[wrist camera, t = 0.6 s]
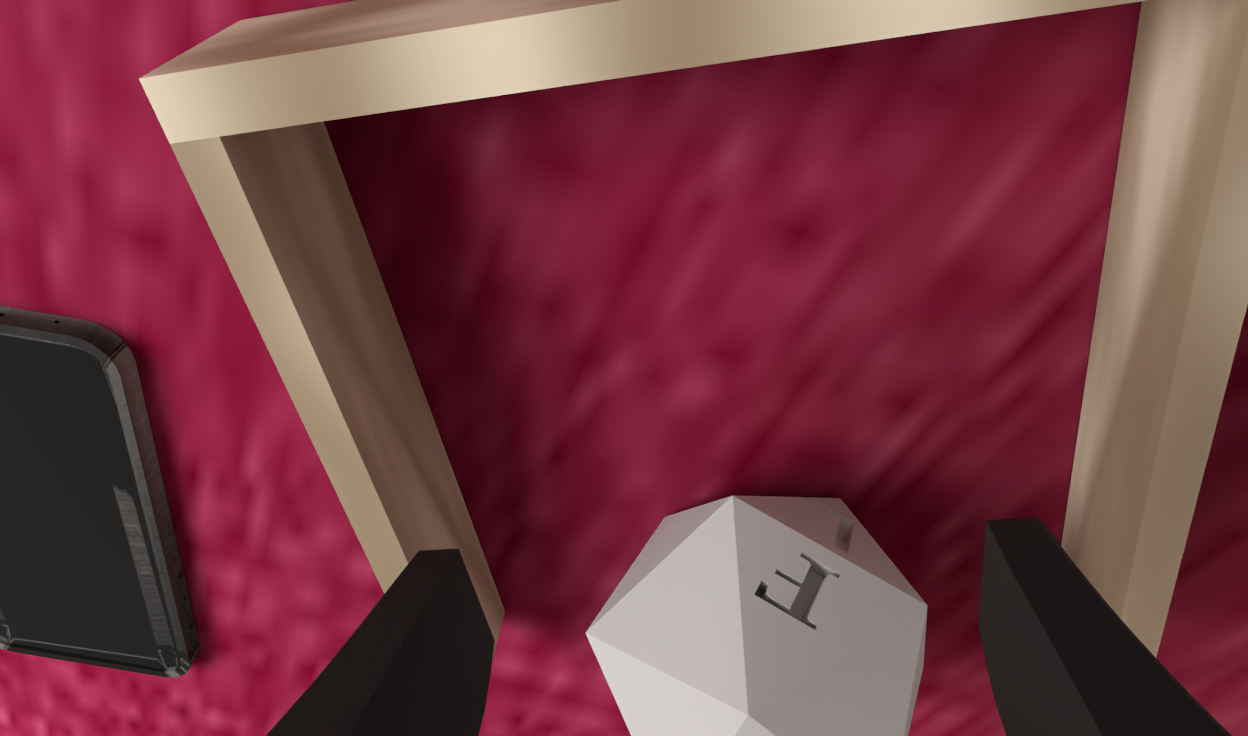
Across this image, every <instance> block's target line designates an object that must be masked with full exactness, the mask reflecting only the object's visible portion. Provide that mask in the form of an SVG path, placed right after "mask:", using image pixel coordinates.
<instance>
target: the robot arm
mask: <svg viewBox="0 0 1248 736" xmlns="http://www.w3.org/2000/svg"><path fill="white" fill-rule="evenodd" d="M978 626H979V630H980V635H981V640H982V645H983V649H984V654H985V659H986V663H987V668H988V672H989V677H990V681H991V686H992V690H993V694H994V699H995V702H996V705H997V708H998V711H999V714H1000V717H1001V720H1002V723H1003V726H1004V729H1005V732H1006V735H1007V736H1232V735H1231V734H1229V733H1228V732H1227V731H1226V730H1225V729H1224V728H1223V727H1222V726H1221V725H1220V724H1219V723H1218V722H1217V721H1216V720H1215V719H1214V718H1213V717H1212V716H1211V715H1210V714H1209V713H1208V712H1207V711H1206V710H1205V709H1204V708H1203V707H1202V706H1201V705H1200V704H1199V703H1198V702H1197V701H1196V700H1195V699H1194V698H1193V697H1192V696H1191V695H1190V694H1189V693H1188V692H1187V691H1186V690H1185V689H1184V687H1183V686H1182V685H1181V684H1180V683H1179V682H1178V681H1177V680H1176V679H1175V678H1174V677H1173V676H1172V675H1171V674H1170V673H1169V672H1168V671H1167V670H1166V669H1165V667H1164V666H1163V665H1162V664H1161V663H1160V662H1159V661H1158V660H1157V659H1156V658H1155V656H1154V655H1153V654H1152V653H1151V652H1150V651H1149V650H1148V649H1147V648H1146V647H1145V645H1144V644H1143V643H1142V642H1141V641H1140V640H1139V639H1138V638H1137V637H1136V635H1135V634H1134V633H1133V632H1132V631H1131V630H1130V629H1129V628H1128V627H1127V626H1126V624H1125V623H1124V622H1123V621H1122V620H1121V619H1120V618H1119V616H1118V615H1117V614H1116V613H1115V612H1114V611H1113V609H1112V608H1111V607H1110V606H1109V605H1108V604H1107V602H1106V601H1105V600H1104V599H1103V598H1102V596H1101V595H1100V594H1099V593H1098V592H1097V590H1096V589H1095V588H1094V587H1093V586H1092V584H1091V583H1090V582H1089V581H1088V579H1087V578H1086V577H1085V576H1084V575H1083V573H1082V572H1081V571H1080V570H1079V568H1078V567H1077V566H1076V565H1075V563H1074V562H1073V561H1072V559H1071V558H1070V557H1069V556H1068V554H1067V553H1066V552H1065V551H1064V549H1063V548H1062V547H1061V545H1060V544H1059V543H1058V541H1057V540H1056V539H1055V537H1054V536H1053V535H1052V533H1051V532H1050V531H1049V529H1048V528H1047V527H1046V525H1045V524H1044V523H1043V522H1041V521H1040V520H1039V519H1037V518H1024V519H1005V520H986V531H985V544H984V557H983V570H982V582H981V595H980V608H979V621H978ZM494 643H495V640H494V637H493V635H492V632H491V630H490V627H489V624H488V622H487V619H486V617H485V614H484V612H483V609H482V607H481V604H480V602H479V599H478V596H477V594H476V591H475V589H474V586H473V584H472V581H471V579H470V576H469V574H468V571H467V568H466V566H465V563H464V561H463V558H462V556H461V553H460V551H459V548H458V549H439V550H421V551H418V552H417V554H416V555H415V556H414V557H413V558H412V560H411V561H410V562H409V563H408V565H407V566H406V567H405V568H404V570H403V571H402V572H401V573H400V575H399V576H398V577H397V578H396V580H395V581H394V582H393V584H392V585H391V586H390V587H389V589H388V590H387V591H386V593H385V594H384V595H383V596H382V598H381V599H380V600H379V601H378V603H377V604H376V605H375V607H374V608H373V609H372V610H371V612H370V613H369V614H368V616H367V617H366V618H365V619H364V621H363V622H362V623H361V624H360V626H359V627H358V628H357V629H356V631H355V632H354V633H353V634H352V636H351V637H350V638H349V639H348V641H347V642H346V643H345V644H344V645H343V647H342V648H341V649H340V650H339V652H338V653H337V654H336V655H335V657H334V658H333V659H332V660H331V661H330V663H329V664H328V665H327V666H326V668H325V669H324V670H323V671H322V672H321V674H320V675H319V676H318V677H317V678H316V680H315V681H314V682H313V683H312V684H311V685H310V687H309V688H308V689H307V690H306V691H305V692H304V693H303V695H302V696H301V697H300V698H299V699H298V700H297V701H296V702H295V704H294V705H293V706H292V707H291V708H290V709H289V710H288V711H287V713H286V714H285V715H284V716H283V717H282V718H281V719H280V721H279V722H278V723H277V724H276V725H275V726H274V727H273V728H272V730H271V731H270V732H269V733H268V734H267V735H266V736H478V734H479V730H480V726H481V722H482V718H483V714H484V711H485V705H486V699H487V692H488V686H489V680H490V673H491V665H492V658H493V650H494Z"/></svg>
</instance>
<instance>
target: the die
mask: <svg viewBox="0 0 1248 736" xmlns="http://www.w3.org/2000/svg"><path fill="white" fill-rule="evenodd" d="M926 620H927V604H926V603H925V602H924V601H923V599H922V598H921V597H920V596H919V594H918V593H917V592H916V591H915V589H914V588H913V587H912V586H911V585H910V583H909V582H908V581H907V580H906V578H905V577H904V576H903V575H902V573H901V572H900V571H899V570H898V569H897V567H896V566H895V565H894V564H893V562H892V561H891V560H890V559H889V557H888V556H887V555H886V554H885V552H884V551H883V550H882V549H881V548H880V546H879V545H878V544H877V543H876V541H875V540H874V539H873V538H872V536H871V535H870V534H869V533H868V532H867V530H866V529H865V528H864V527H863V525H862V524H861V523H860V522H859V520H858V519H857V518H856V517H855V516H854V514H853V513H852V512H851V511H850V509H849V508H848V507H847V506H846V504H845V503H844V502H843V501H842V500H841V498H817V497H807V498H803V497H775V496H733V495H732V496H729V497H726V498H723V499H720V500H717V501H713V502H710V503H707V504H704V505H701V506H697V507H694V508H691V509H688V510H685V511H682V512H678V513H675V514H672V515H669V516H666V517H664V519H663V520H662V522H661V523H660V525H659V526H658V528H657V529H656V531H655V532H654V533H653V535H652V536H651V538H650V539H649V541H648V542H647V544H646V545H645V547H644V548H643V549H642V551H641V552H640V554H639V555H638V557H637V558H636V560H635V561H634V563H633V564H632V566H631V567H630V568H629V570H628V571H627V573H626V574H625V576H624V577H623V579H622V580H621V582H620V583H619V584H618V586H617V587H616V589H615V590H614V592H613V593H612V595H611V596H610V598H609V599H608V601H607V602H606V603H605V605H604V606H603V608H602V609H601V611H600V612H599V614H598V615H597V617H596V618H595V619H594V621H593V622H592V624H591V625H590V627H589V628H588V630H587V631H586V635H587V637H588V640H589V642H590V644H591V646H592V649H593V651H594V653H595V655H596V658H597V660H598V662H599V664H600V667H601V669H602V671H603V673H604V676H605V678H606V680H607V682H608V685H609V687H610V689H611V691H612V694H613V696H614V698H615V700H616V703H617V705H618V707H619V709H620V711H621V714H622V716H623V718H624V720H625V723H626V725H627V727H628V729H629V732H630V734H631V736H908V732H909V728H910V723H911V719H912V715H913V710H914V706H915V701H916V697H917V693H918V688H919V684H920V680H921V675H922V671H923V666H924V651H925V635H926Z"/></svg>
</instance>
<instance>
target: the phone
mask: <svg viewBox="0 0 1248 736" xmlns="http://www.w3.org/2000/svg"><path fill="white" fill-rule="evenodd" d="M0 313H4V314H5V315H3V316H2V317H1V316H0V648H1V649H4V650H8V651H12V652H17V653H23V654H29V655H35V656H41V657H47V658H53V659H59V660H65V661H71V662H77V663H83V664H89V665H95V666H101V667H107V668H113V669H119V670H125V671H131V672H138V673H144V674H150V675H156V676H162V677H178V676H181V675H183V674H185V673H187V671H188V670H189V668H190V667H191V665H192V663H193V661H194V660H195V658H196V656H197V654H198V653H199V651H200V644H199V640H198V635H197V631H196V626H195V622H194V618H193V613H192V609H191V604H190V600H189V595H188V591H187V590H188V589H187V585H186V580H185V576H184V573H183V569H182V564H181V560H180V555H179V551H178V546H177V542H176V538H175V533H174V529H173V524H172V520H171V515H170V511H169V507H168V502H167V498H166V493H165V489H164V484H163V480H162V475H161V471H160V467H159V462H158V458H157V453H156V449H155V444H154V440H153V435H152V431H151V427H150V422H149V418H148V413H147V409H146V404H145V400H144V395H143V391H142V387H141V382H140V378H139V373H138V369H137V364H136V361H135V358H134V356H133V353H132V351H131V350H130V348H129V347H128V346H127V344H126V343H125V342H124V341H123V340H122V339H121V338H120V337H119V336H118V335H116V334H115V333H114V332H113V331H111V330H109V329H108V328H106V327H104V326H102V325H100V324H98V323H94V322H91V321H87V320H83V319H77V318H71V317H65V316H59V315H54V314H48V313H42V312H36V311H30V310H24V309H18V308H12V307H6V306H0ZM56 320H57V321H60V322H59V323H54V322H55V321H56Z"/></svg>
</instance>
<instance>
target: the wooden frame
mask: <svg viewBox="0 0 1248 736" xmlns="http://www.w3.org/2000/svg"><path fill="white" fill-rule="evenodd" d="M1140 1H1142V3H1141V10H1140V17H1139V24H1138V31H1137V37H1136V44H1135V51H1134V58H1133V64H1132V71H1131V78H1130V85H1129V91H1128V98H1127V105H1126V112H1125V118H1124V125H1123V132H1122V139H1121V145H1120V152H1119V159H1118V166H1117V172H1116V179H1115V186H1114V193H1113V199H1112V206H1111V213H1110V220H1109V226H1108V233H1107V240H1106V247H1105V253H1104V260H1103V267H1102V274H1101V280H1100V287H1099V294H1098V301H1097V307H1096V314H1095V321H1094V328H1093V334H1092V341H1091V348H1090V355H1089V362H1088V368H1087V375H1086V382H1085V389H1084V395H1083V402H1082V409H1081V416H1080V422H1079V429H1078V436H1077V443H1076V449H1075V456H1074V463H1073V470H1072V476H1071V483H1070V490H1069V497H1068V503H1067V510H1066V517H1065V524H1064V530H1063V537H1062V544H1061V547H1062V548H1063V549H1064V551H1065V552H1066V553H1067V554H1068V556H1069V557H1070V558H1071V559H1072V561H1073V562H1074V563H1075V565H1076V566H1077V567H1078V568H1079V570H1080V571H1081V572H1082V573H1083V575H1084V576H1085V577H1086V578H1087V579H1088V581H1089V582H1090V583H1091V584H1092V586H1093V587H1094V588H1095V589H1096V590H1097V592H1098V593H1099V594H1100V595H1101V596H1102V598H1103V599H1104V600H1105V601H1106V602H1107V604H1108V605H1109V606H1110V607H1111V608H1112V609H1113V611H1114V612H1115V613H1116V614H1117V615H1118V616H1119V618H1120V619H1121V620H1122V621H1123V622H1124V623H1125V624H1126V626H1127V627H1128V628H1129V629H1130V630H1131V631H1132V632H1133V633H1134V634H1135V635H1136V637H1137V638H1138V639H1139V640H1140V641H1141V642H1142V643H1143V644H1144V645H1145V647H1146V648H1147V649H1148V650H1149V651H1150V652H1151V653H1152V654H1153V655H1154V656H1155V658H1156V657H1157V653H1158V649H1159V645H1160V641H1161V637H1162V634H1163V630H1164V626H1165V622H1166V618H1167V614H1168V610H1169V606H1170V603H1171V599H1172V595H1173V591H1174V587H1175V583H1176V579H1177V576H1178V572H1179V568H1180V564H1181V560H1182V556H1183V552H1184V549H1185V545H1186V541H1187V537H1188V533H1189V529H1190V525H1191V521H1192V518H1193V514H1194V510H1195V506H1196V502H1197V498H1198V494H1199V491H1200V487H1201V483H1202V479H1203V475H1204V471H1205V467H1206V464H1207V460H1208V456H1209V452H1210V448H1211V444H1212V440H1213V436H1214V433H1215V429H1216V425H1217V421H1218V417H1219V413H1220V409H1221V406H1222V402H1223V398H1224V394H1225V390H1226V386H1227V382H1228V379H1229V375H1230V371H1231V367H1232V363H1233V359H1234V355H1235V352H1236V348H1237V344H1238V340H1239V336H1240V332H1241V328H1242V324H1243V321H1244V317H1245V313H1246V309H1247V305H1248V0H356V1H350V2H344V3H338V4H332V5H327V6H321V7H315V8H309V9H303V10H297V11H291V12H286V13H280V14H274V15H268V16H262V17H256V18H251V19H245V20H240V21H238V22H236V23H235V24H233V25H231V26H229V27H228V28H226V29H224V30H222V31H221V32H219V33H217V34H215V35H214V36H212V37H210V38H209V39H207V40H205V41H203V42H202V43H200V44H198V45H196V46H195V47H193V48H191V49H189V50H188V51H186V52H184V53H182V54H181V55H179V56H177V57H175V58H174V59H172V60H170V61H169V62H167V63H165V64H163V65H162V66H160V67H158V68H156V69H155V70H153V71H151V72H149V73H148V74H146V75H144V76H142V77H141V78H139V80H140V82H141V84H142V86H143V88H144V91H145V93H146V95H147V97H148V99H149V101H150V103H151V105H152V107H153V109H154V111H155V114H156V116H157V118H158V120H159V122H160V124H161V126H162V128H163V130H164V132H165V135H166V137H167V139H168V141H169V143H170V145H171V147H172V149H173V151H174V153H175V156H176V158H177V160H178V162H179V164H180V166H181V168H182V170H183V172H184V174H185V176H186V179H187V181H188V183H189V185H190V187H191V189H192V191H193V193H194V195H195V197H196V200H197V202H198V204H199V206H200V208H201V210H202V212H203V214H204V216H205V218H206V220H207V223H208V225H209V227H210V229H211V231H212V233H213V235H214V237H215V239H216V241H217V244H218V246H219V248H220V250H221V252H222V254H223V256H224V258H225V260H226V262H227V265H228V267H229V269H230V271H231V273H232V275H233V277H234V279H235V281H236V283H237V285H238V288H239V290H240V292H241V294H242V296H243V298H244V300H245V302H246V304H247V306H248V309H249V311H250V313H251V315H252V317H253V319H254V321H255V323H256V325H257V327H258V330H259V332H260V334H261V336H262V338H263V340H264V342H265V344H266V346H267V348H268V350H269V353H270V355H271V357H272V359H273V361H274V363H275V365H276V367H277V369H278V371H279V374H280V376H281V378H282V380H283V382H284V384H285V386H286V388H287V390H288V392H289V395H290V397H291V399H292V401H293V403H294V405H295V407H296V409H297V411H298V413H299V415H300V418H301V420H302V422H303V424H304V426H305V428H306V430H307V432H308V434H309V436H310V439H311V441H312V443H313V445H314V447H315V449H316V451H317V453H318V455H319V457H320V459H321V462H322V464H323V466H324V468H325V470H326V472H327V474H328V476H329V478H330V480H331V483H332V485H333V487H334V489H335V491H336V493H337V495H338V497H339V499H340V501H341V504H342V506H343V508H344V510H345V512H346V514H347V516H348V518H349V520H350V522H351V524H352V527H353V529H354V531H355V533H356V535H357V537H358V539H359V541H360V543H361V545H362V548H363V550H364V552H365V554H366V556H367V558H368V560H369V562H370V564H371V566H372V569H373V571H374V573H375V575H376V577H377V579H378V581H379V583H380V585H381V587H382V589H383V592H384V594H385V593H386V591H387V590H388V589H389V587H390V586H391V585H392V584H393V582H394V581H395V580H396V578H397V577H398V576H399V575H400V573H401V572H402V571H403V570H404V568H405V567H406V566H407V565H408V563H409V562H410V561H411V560H412V558H413V557H414V556H415V555H416V554H417V552H418V551H421V550H439V549H458V548H459V551H460V553H461V556H462V558H463V561H464V563H465V566H466V568H467V571H468V574H469V576H470V579H471V581H472V584H473V586H474V589H475V591H476V594H477V596H478V599H479V602H480V604H481V607H482V609H483V612H484V614H485V617H486V619H487V622H488V624H489V627H490V630H491V632H492V635H493V637H494V640H495V643H494V650H493V656H494V652H495V648H496V645H497V641H498V637H499V633H500V629H501V625H502V621H503V617H504V613H505V610H504V607H503V604H502V602H501V599H500V596H499V593H498V591H497V588H496V585H495V583H494V580H493V577H492V575H491V572H490V569H489V566H488V564H487V561H486V558H485V556H484V553H483V550H482V548H481V545H480V542H479V540H478V537H477V534H476V531H475V529H474V526H473V523H472V521H471V518H470V515H469V513H468V510H467V507H466V504H465V502H464V499H463V496H462V494H461V491H460V488H459V486H458V483H457V480H456V477H455V475H454V472H453V469H452V467H451V464H450V461H449V459H448V456H447V453H446V450H445V448H444V445H443V442H442V440H441V437H440V434H439V432H438V429H437V426H436V423H435V421H434V418H433V415H432V413H431V410H430V407H429V405H428V402H427V399H426V396H425V394H424V391H423V388H422V386H421V383H420V380H419V378H418V375H417V372H416V369H415V367H414V364H413V361H412V359H411V356H410V353H409V351H408V348H407V345H406V342H405V340H404V337H403V334H402V332H401V329H400V326H399V324H398V321H397V318H396V315H395V313H394V310H393V307H392V305H391V302H390V299H389V297H388V294H387V291H386V289H385V286H384V283H383V280H382V278H381V275H380V272H379V270H378V267H377V264H376V262H375V259H374V256H373V253H372V251H371V248H370V245H369V243H368V240H367V237H366V235H365V232H364V229H363V226H362V224H361V221H360V218H359V216H358V213H357V210H356V208H355V205H354V202H353V199H352V197H351V194H350V191H349V189H348V186H347V183H346V181H345V178H344V175H343V172H342V170H341V167H340V164H339V162H338V159H337V156H336V154H335V151H334V148H333V145H332V143H331V140H330V137H329V135H328V132H327V129H326V127H325V124H324V121H329V120H336V119H343V118H350V117H357V116H363V115H370V114H377V113H384V112H391V111H398V110H404V109H411V108H418V107H425V106H432V105H438V104H445V103H452V102H459V101H466V100H473V99H479V98H486V97H493V96H500V95H507V94H513V93H520V92H527V91H534V90H541V89H547V88H554V87H561V86H568V85H575V84H582V83H588V82H595V81H602V80H609V79H616V78H622V77H629V76H636V75H643V74H650V73H656V72H663V71H670V70H677V69H684V68H691V67H697V66H704V65H711V64H718V63H725V62H731V61H738V60H745V59H752V58H759V57H766V56H772V55H779V54H786V53H793V52H800V51H806V50H813V49H820V48H827V47H834V46H840V45H847V44H854V43H861V42H868V41H875V40H881V39H888V38H895V37H902V36H909V35H915V34H922V33H929V32H936V31H943V30H950V29H956V28H963V27H970V26H977V25H984V24H990V23H997V22H1004V21H1011V20H1018V19H1024V18H1031V17H1038V16H1045V15H1052V14H1059V13H1065V12H1072V11H1079V10H1086V9H1093V8H1099V7H1106V6H1113V5H1120V4H1127V3H1133V2H1140ZM492 660H493V658H492Z"/></svg>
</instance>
